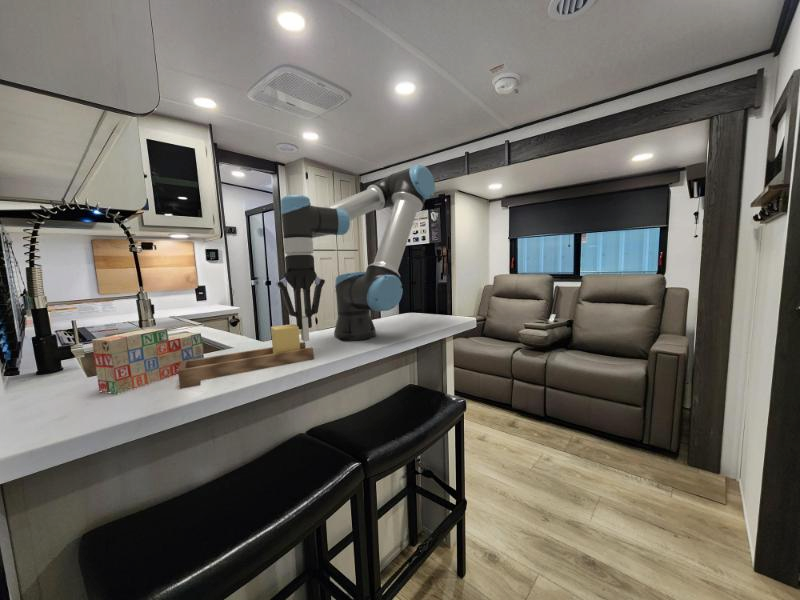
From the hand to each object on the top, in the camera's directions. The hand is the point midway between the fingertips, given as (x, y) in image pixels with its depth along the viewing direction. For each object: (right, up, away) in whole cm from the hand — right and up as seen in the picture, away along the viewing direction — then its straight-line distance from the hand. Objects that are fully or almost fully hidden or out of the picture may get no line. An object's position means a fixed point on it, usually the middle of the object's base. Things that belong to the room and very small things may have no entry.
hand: (305, 340), depth 89 cm
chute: (-12, -7, -7) cm, 15 cm away
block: (-4, -5, -2) cm, 7 cm away
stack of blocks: (-34, -9, -9) cm, 36 cm away
